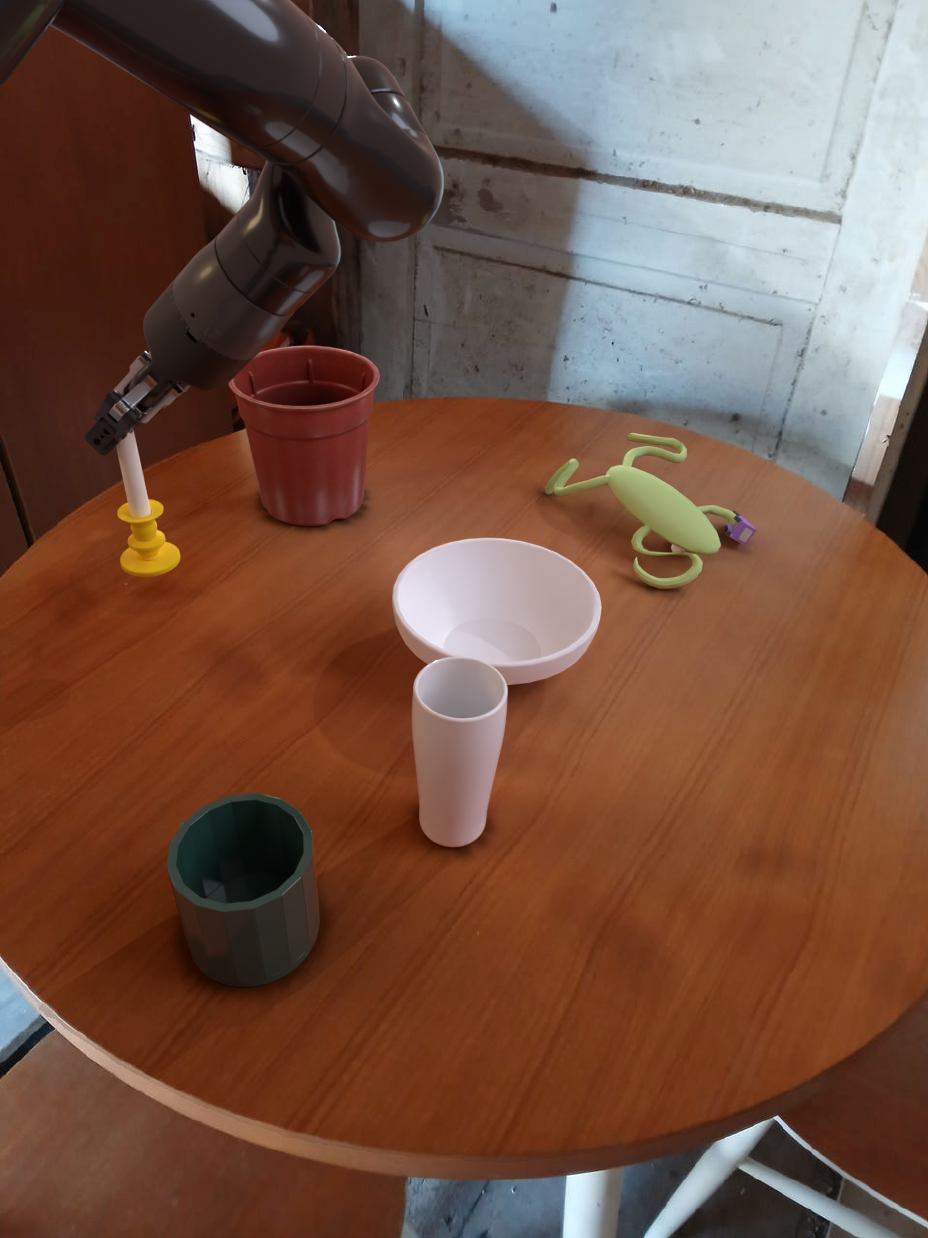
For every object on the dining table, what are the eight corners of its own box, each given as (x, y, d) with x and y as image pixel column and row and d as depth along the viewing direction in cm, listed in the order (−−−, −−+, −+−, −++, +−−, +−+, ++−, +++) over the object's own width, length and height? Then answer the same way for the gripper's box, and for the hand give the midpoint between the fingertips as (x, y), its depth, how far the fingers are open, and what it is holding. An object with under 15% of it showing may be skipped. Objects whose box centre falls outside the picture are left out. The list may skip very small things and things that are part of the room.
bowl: (453, 572, 99) (455, 517, 94) (620, 632, 92) (631, 575, 88) (352, 675, 85) (350, 616, 81) (540, 754, 79) (549, 695, 74)
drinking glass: (507, 808, 74) (523, 673, 64) (473, 871, 69) (485, 734, 59) (433, 779, 76) (438, 644, 66) (394, 838, 71) (394, 701, 61)
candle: (129, 583, 79) (91, 421, 70) (114, 553, 83) (76, 395, 73) (188, 568, 82) (159, 408, 72) (171, 539, 85) (141, 383, 75)
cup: (213, 1012, 59) (194, 935, 54) (170, 905, 65) (149, 826, 60) (341, 949, 63) (335, 871, 58) (289, 853, 69) (280, 775, 64)
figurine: (651, 456, 122) (658, 418, 118) (786, 562, 103) (799, 521, 100) (531, 482, 115) (536, 442, 111) (653, 600, 97) (663, 557, 93)
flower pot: (222, 486, 111) (204, 360, 101) (342, 455, 118) (336, 335, 108) (278, 553, 100) (265, 420, 90) (406, 514, 108) (407, 387, 98)
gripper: (224, 244, 70) (111, 373, 79) (132, 302, 59) (15, 442, 69) (294, 321, 72) (176, 437, 82) (217, 390, 62) (92, 513, 71)
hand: (103, 439), depth 75 cm, fingers closed on candle
